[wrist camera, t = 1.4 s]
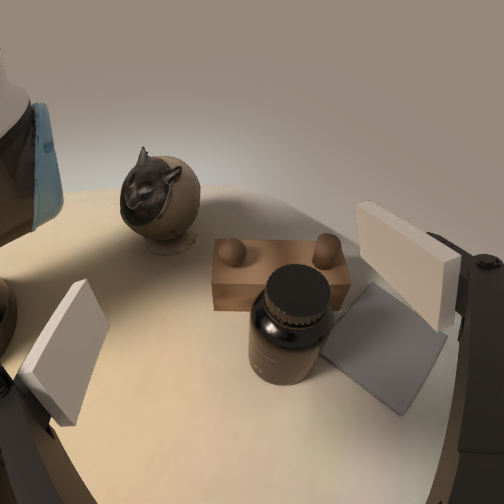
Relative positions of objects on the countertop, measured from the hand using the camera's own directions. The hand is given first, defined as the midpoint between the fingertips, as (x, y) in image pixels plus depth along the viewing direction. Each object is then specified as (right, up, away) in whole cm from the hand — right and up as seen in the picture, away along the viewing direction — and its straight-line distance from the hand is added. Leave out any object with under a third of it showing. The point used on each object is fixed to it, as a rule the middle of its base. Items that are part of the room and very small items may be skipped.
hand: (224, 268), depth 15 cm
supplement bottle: (+4, -10, +17) cm, 20 cm away
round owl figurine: (-10, +3, +28) cm, 30 cm away
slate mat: (+16, -10, +18) cm, 26 cm away
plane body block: (+4, -4, +23) cm, 23 cm away
